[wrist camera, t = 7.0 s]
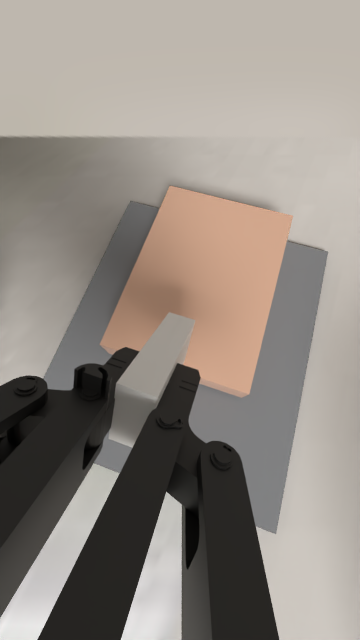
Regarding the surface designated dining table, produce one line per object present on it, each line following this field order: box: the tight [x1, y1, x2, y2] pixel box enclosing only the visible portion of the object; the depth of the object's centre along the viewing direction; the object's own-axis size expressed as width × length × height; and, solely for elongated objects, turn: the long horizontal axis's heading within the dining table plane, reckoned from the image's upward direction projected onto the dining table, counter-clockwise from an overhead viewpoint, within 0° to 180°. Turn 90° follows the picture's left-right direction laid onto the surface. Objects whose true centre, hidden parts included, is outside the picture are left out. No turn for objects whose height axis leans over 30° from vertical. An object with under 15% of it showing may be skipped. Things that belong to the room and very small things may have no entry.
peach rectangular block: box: [100, 186, 293, 398], centre depth 22 cm, size 3×10×14 cm
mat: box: [43, 201, 328, 534], centre depth 22 cm, size 21×18×1 cm
